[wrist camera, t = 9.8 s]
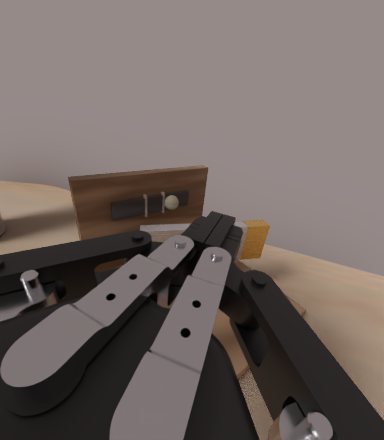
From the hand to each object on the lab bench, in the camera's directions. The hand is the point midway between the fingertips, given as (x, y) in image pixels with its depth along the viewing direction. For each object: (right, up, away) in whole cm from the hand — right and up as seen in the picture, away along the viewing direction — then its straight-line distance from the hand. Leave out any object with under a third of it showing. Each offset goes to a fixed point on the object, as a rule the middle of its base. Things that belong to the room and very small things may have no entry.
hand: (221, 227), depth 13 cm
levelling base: (-3, -11, +16) cm, 20 cm away
